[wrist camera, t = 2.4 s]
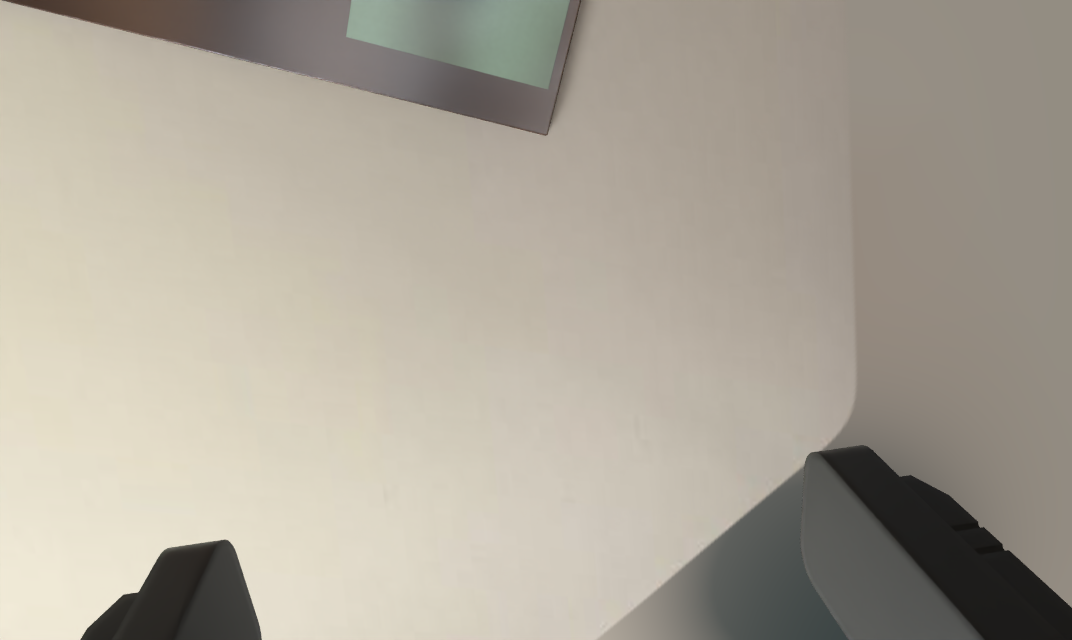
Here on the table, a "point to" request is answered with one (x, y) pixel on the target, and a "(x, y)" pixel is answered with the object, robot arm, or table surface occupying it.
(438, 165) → the table surface
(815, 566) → the robot arm
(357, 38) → the brown flat rectangular board
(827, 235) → the table surface
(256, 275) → the table surface
